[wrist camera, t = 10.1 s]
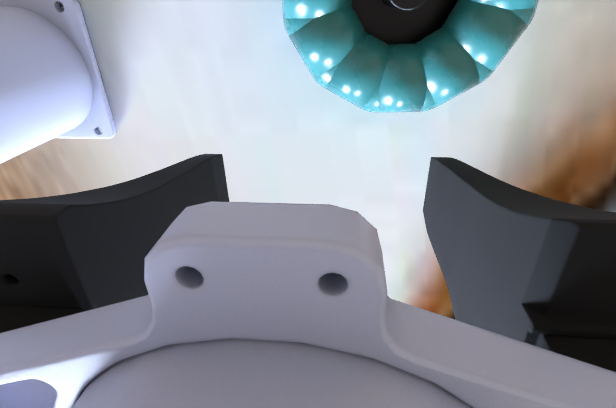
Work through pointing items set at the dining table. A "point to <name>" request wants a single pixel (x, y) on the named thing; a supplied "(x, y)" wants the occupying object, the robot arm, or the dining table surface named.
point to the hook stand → (402, 18)
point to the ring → (404, 52)
